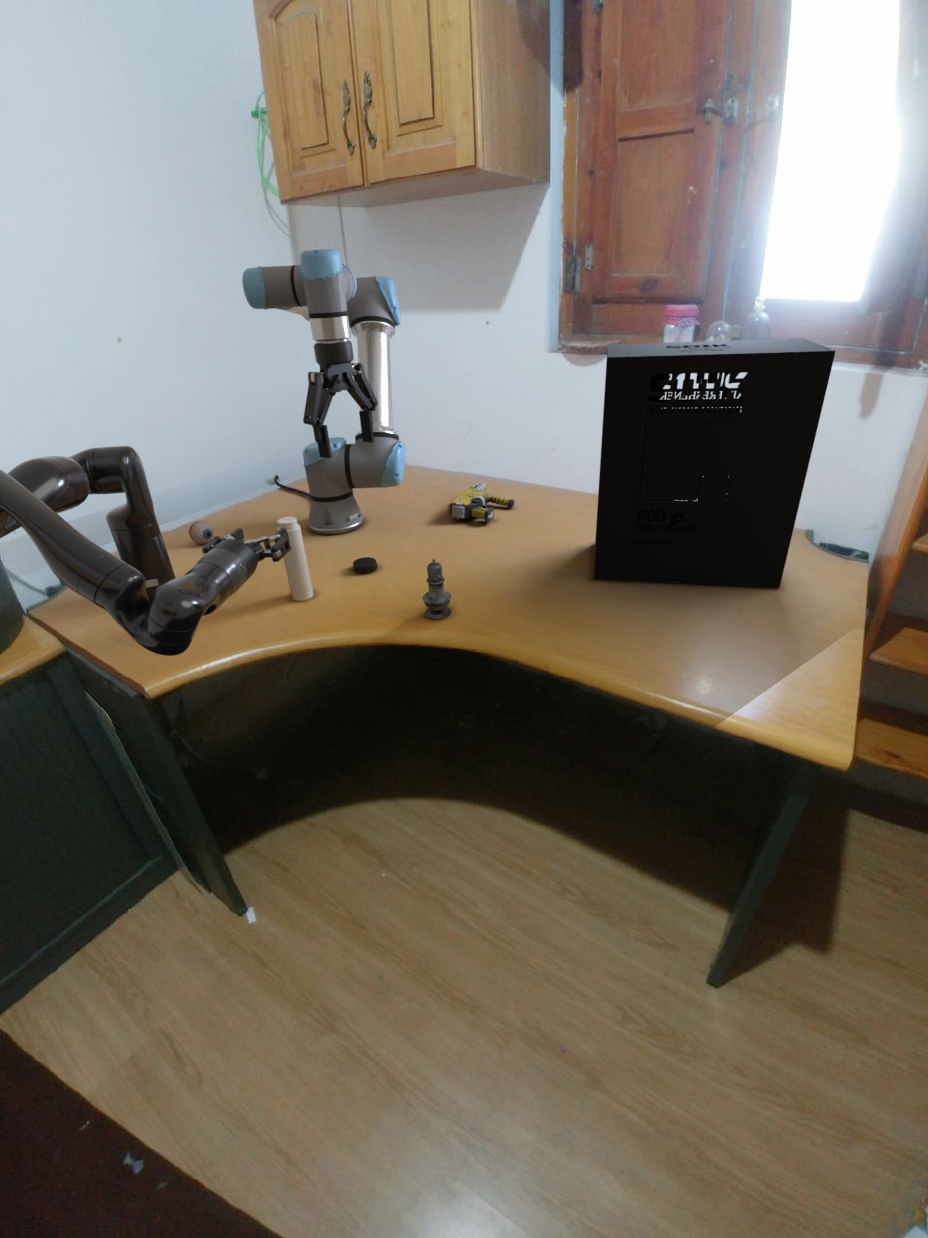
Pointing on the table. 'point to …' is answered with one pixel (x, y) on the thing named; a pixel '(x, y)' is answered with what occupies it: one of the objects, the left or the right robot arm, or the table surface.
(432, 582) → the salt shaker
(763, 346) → the cardboard box
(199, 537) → the eyeball
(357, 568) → the lid
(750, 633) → the table surface
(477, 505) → the toy gun
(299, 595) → the jar
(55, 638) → the table surface
